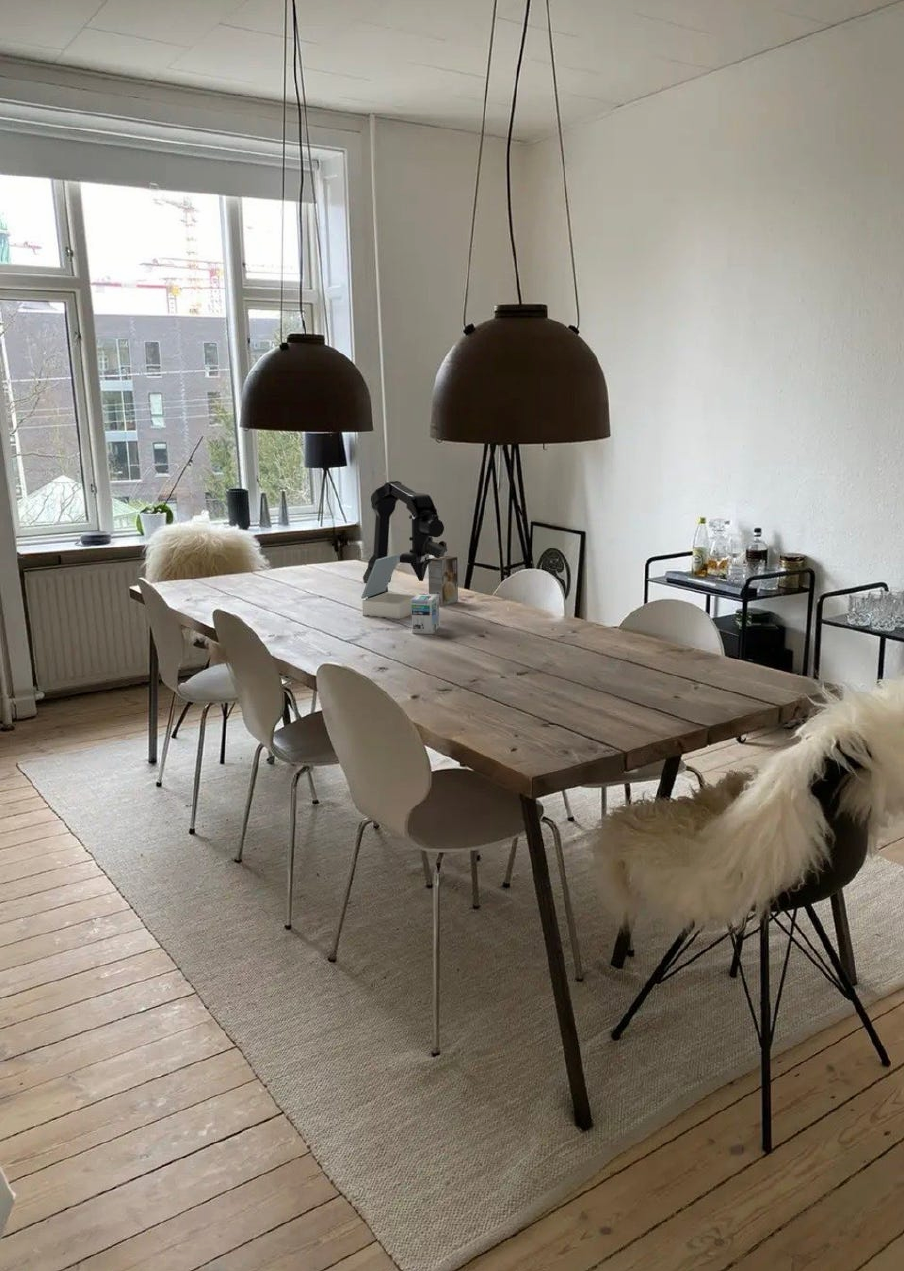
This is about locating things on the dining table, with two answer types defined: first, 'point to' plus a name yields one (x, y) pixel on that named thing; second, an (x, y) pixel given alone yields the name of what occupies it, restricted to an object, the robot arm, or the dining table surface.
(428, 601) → the light bulb box
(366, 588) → the lid flap
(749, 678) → the dining table surface
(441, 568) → the coffee box
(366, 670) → the dining table surface
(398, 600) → the open box
